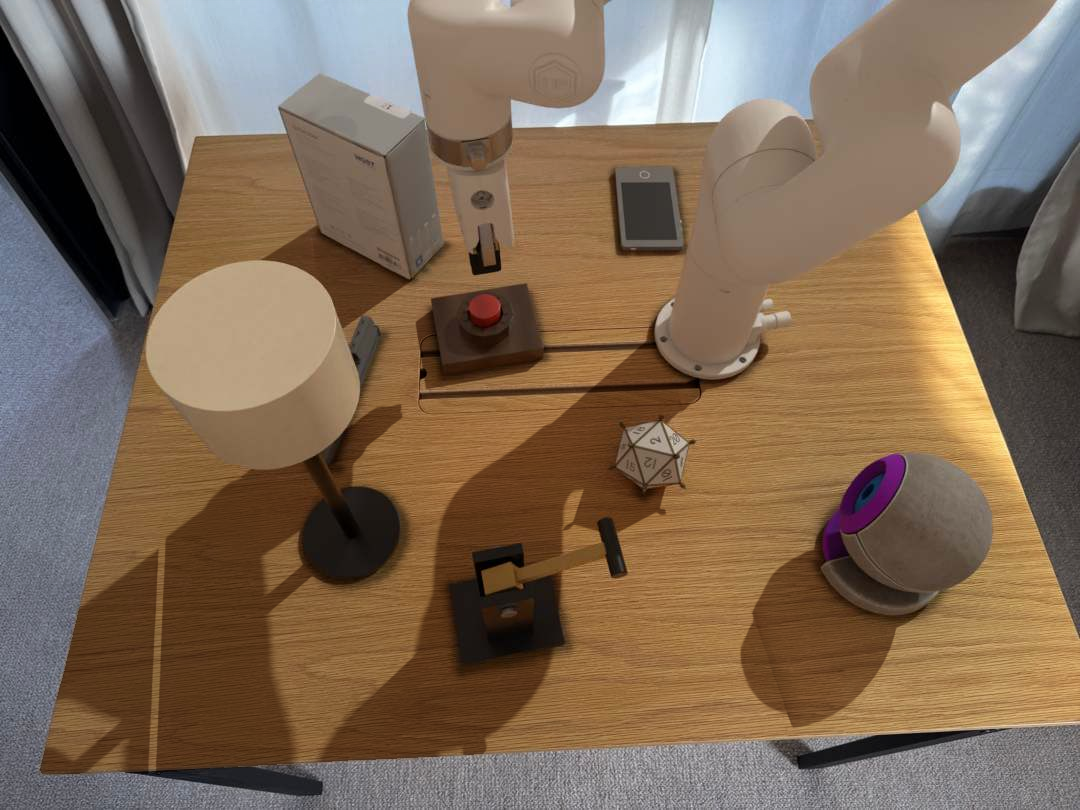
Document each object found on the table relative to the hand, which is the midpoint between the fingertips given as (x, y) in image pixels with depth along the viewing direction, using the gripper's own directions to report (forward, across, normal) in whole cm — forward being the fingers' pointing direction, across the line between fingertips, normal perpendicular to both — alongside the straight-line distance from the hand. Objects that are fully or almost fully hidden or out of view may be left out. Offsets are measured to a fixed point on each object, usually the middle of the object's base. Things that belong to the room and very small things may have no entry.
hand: (485, 267), depth 83 cm
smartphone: (+12, +16, -24) cm, 32 cm away
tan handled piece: (+1, -34, 0) cm, 34 cm away
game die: (+13, -22, -13) cm, 28 cm away
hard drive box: (+12, +18, +12) cm, 25 cm away
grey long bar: (+12, -6, +18) cm, 22 cm away
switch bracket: (+12, -34, +5) cm, 37 cm away
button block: (+12, 0, +1) cm, 12 cm away
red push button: (+8, 0, +1) cm, 8 cm away
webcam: (+13, -36, -34) cm, 51 cm away
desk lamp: (+12, -23, +19) cm, 32 cm away
